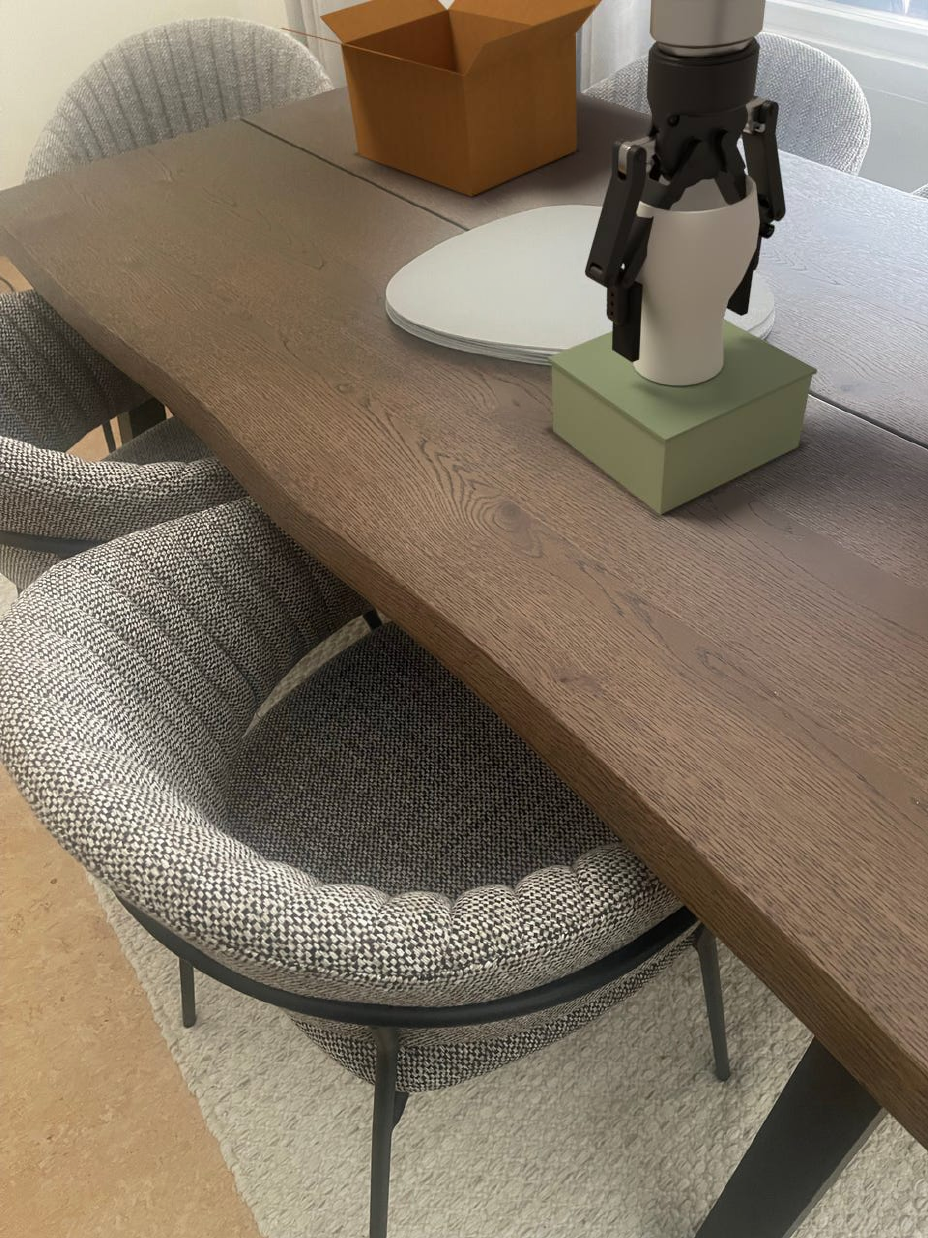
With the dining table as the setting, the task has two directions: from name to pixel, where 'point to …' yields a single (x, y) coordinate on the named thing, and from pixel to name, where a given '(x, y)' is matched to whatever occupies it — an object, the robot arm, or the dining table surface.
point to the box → (462, 85)
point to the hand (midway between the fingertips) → (680, 331)
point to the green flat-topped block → (680, 416)
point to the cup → (692, 280)
